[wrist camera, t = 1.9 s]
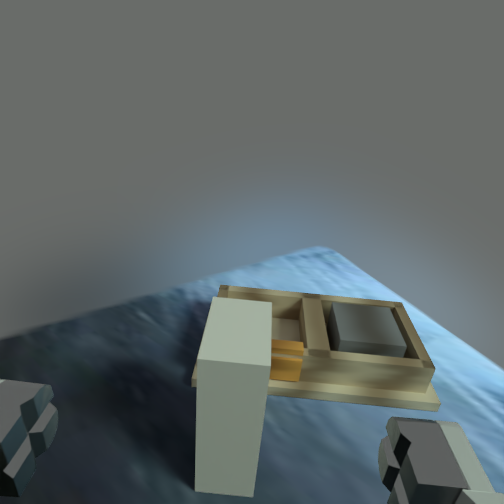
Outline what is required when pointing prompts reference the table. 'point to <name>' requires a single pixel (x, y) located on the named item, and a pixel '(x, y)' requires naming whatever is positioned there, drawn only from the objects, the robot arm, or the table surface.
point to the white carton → (232, 395)
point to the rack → (343, 350)
